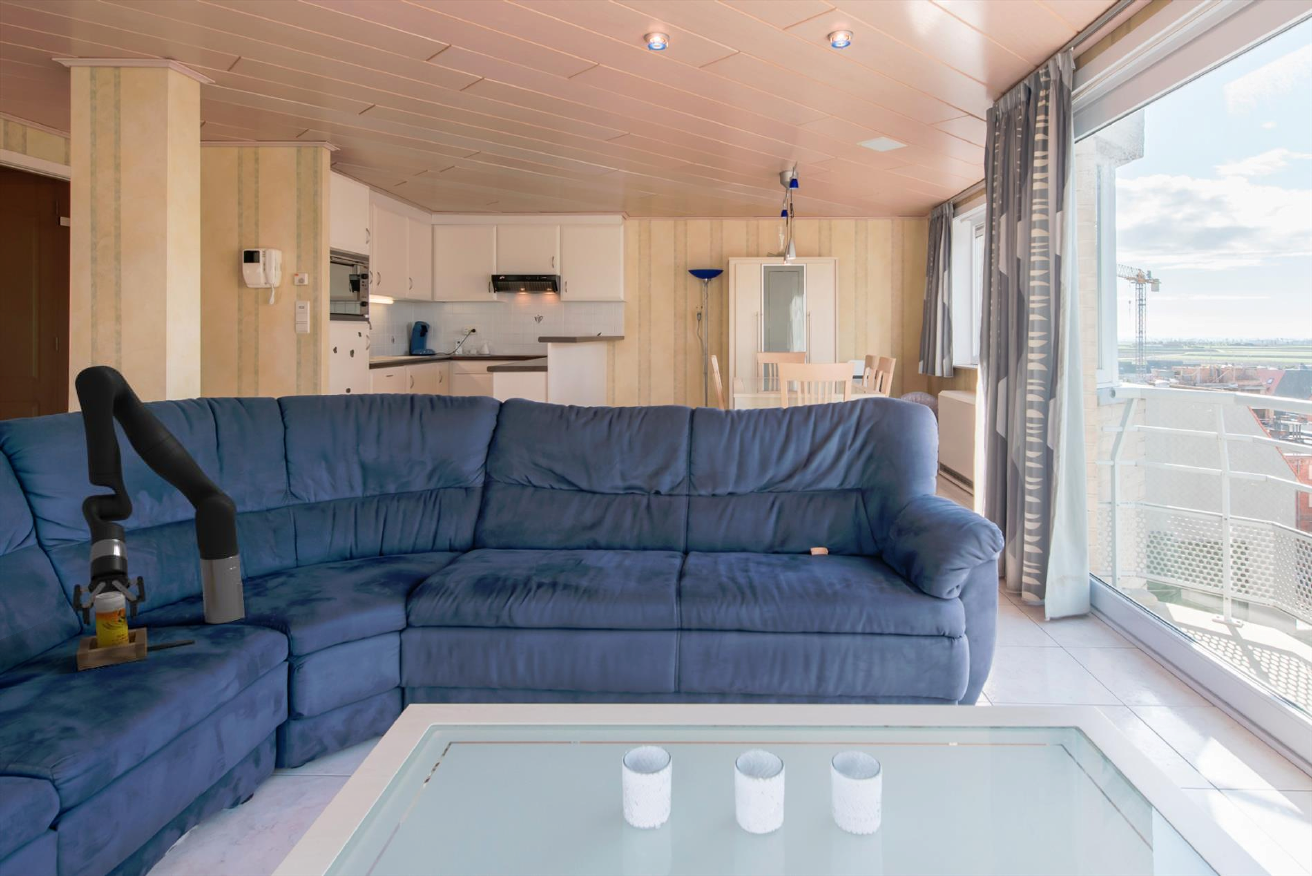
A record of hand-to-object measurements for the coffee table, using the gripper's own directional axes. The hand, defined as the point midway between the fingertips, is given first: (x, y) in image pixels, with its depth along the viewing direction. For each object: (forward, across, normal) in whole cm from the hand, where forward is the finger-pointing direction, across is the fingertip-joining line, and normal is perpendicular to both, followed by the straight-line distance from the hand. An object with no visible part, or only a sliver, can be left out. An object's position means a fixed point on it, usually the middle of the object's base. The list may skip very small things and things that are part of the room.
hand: (110, 620), depth 190 cm
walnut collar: (+6, +5, +7) cm, 10 cm away
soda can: (+5, 0, +8) cm, 9 cm away
